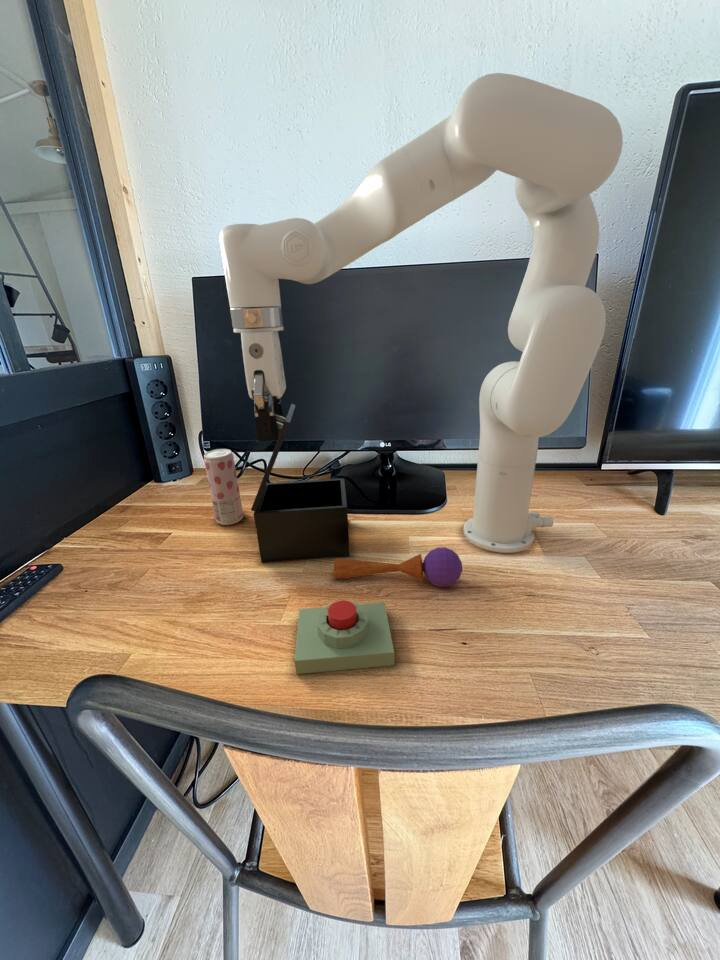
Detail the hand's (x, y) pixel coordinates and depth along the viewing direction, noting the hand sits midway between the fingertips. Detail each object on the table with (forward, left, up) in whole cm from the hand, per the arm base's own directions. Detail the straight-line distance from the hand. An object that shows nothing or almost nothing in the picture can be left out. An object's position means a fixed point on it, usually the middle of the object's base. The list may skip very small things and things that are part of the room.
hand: (271, 432), depth 67 cm
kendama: (-19, +14, -22) cm, 32 cm away
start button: (-10, +26, -18) cm, 33 cm away
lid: (0, 0, -4) cm, 4 cm away
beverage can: (+13, -11, -22) cm, 28 cm away
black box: (-4, 0, -22) cm, 22 cm away
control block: (-10, +26, -22) cm, 35 cm away
